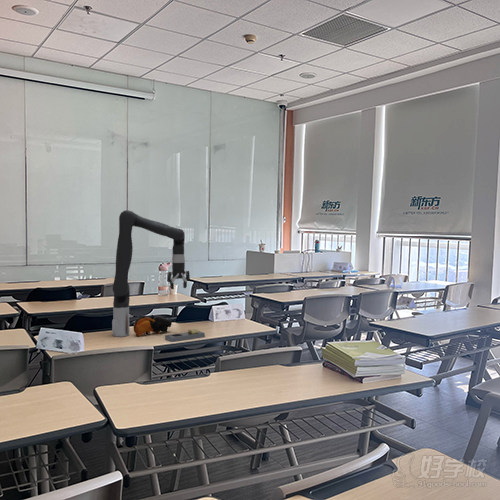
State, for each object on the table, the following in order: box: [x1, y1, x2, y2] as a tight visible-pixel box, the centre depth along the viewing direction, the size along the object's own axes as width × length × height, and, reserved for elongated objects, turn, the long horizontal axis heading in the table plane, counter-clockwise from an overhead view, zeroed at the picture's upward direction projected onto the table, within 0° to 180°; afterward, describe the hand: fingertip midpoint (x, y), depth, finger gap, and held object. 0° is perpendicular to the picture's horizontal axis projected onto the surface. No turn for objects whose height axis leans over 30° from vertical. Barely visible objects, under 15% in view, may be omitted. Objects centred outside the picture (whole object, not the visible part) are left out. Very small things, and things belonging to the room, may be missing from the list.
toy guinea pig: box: [133, 314, 173, 338], centre depth 301 cm, size 8×23×15 cm, turn 127°
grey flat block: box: [164, 330, 206, 343], centre depth 289 cm, size 22×8×2 cm, turn 128°
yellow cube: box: [187, 328, 199, 334], centre depth 292 cm, size 4×4×4 cm
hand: (178, 288), depth 298 cm, fingers open, 8 cm apart
